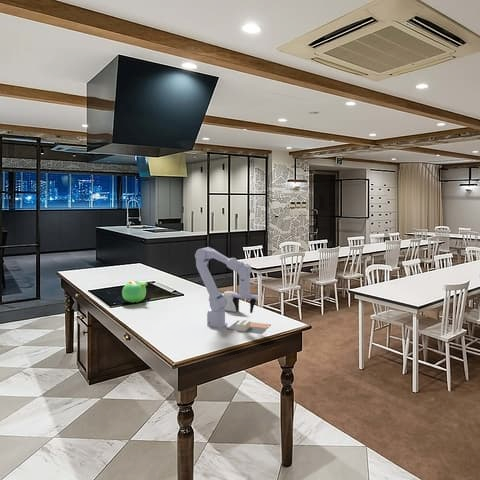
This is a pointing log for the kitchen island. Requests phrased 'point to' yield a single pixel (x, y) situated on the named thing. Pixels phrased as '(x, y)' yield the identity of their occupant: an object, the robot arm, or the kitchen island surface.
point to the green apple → (134, 291)
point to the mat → (252, 327)
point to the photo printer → (229, 301)
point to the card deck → (243, 325)
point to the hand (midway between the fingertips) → (244, 312)
